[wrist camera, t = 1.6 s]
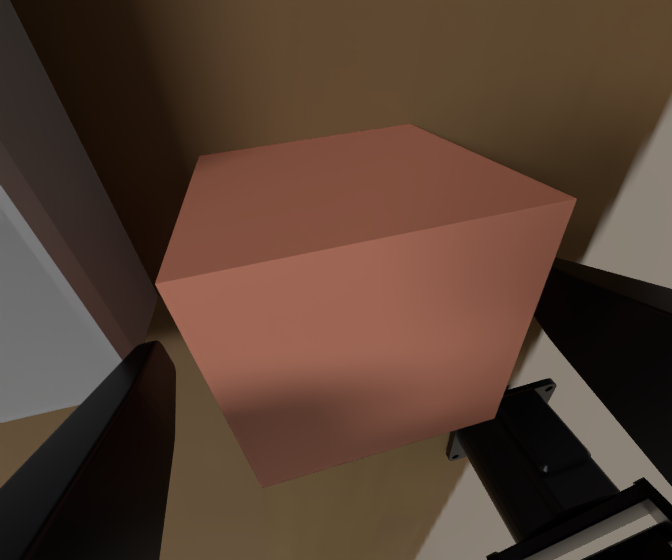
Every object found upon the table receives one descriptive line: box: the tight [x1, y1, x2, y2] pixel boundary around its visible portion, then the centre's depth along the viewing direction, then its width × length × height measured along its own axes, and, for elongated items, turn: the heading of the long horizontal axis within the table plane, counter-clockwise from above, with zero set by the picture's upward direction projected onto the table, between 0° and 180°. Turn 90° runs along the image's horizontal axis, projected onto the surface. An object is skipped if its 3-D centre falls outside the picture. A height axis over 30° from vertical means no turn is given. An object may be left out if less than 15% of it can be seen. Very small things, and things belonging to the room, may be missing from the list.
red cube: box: [155, 124, 577, 488], centre depth 9 cm, size 6×6×6 cm
